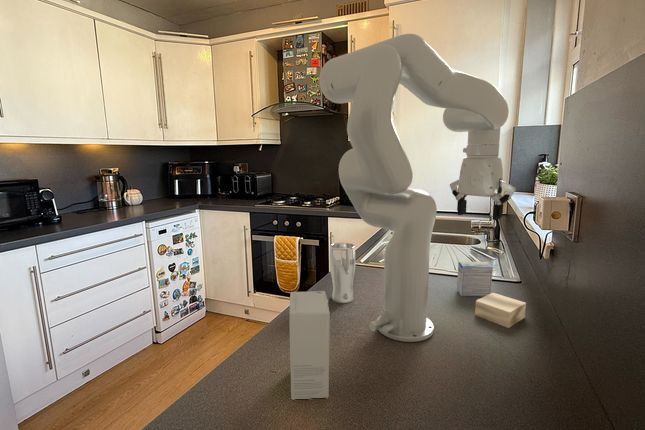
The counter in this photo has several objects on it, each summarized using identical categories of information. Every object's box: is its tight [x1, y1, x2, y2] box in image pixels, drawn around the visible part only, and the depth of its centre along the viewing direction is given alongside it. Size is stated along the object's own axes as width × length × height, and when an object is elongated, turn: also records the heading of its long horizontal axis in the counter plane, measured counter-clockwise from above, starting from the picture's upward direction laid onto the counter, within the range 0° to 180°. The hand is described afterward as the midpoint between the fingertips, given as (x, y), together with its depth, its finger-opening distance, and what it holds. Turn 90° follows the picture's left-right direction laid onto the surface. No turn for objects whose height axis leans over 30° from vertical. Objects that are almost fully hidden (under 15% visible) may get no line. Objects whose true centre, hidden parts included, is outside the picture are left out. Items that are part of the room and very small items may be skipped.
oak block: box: [474, 292, 527, 329], centre depth 84 cm, size 8×8×4 cm
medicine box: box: [456, 261, 494, 297], centre depth 97 cm, size 8×4×9 cm, turn 84°
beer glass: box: [329, 241, 356, 304], centre depth 94 cm, size 7×7×15 cm
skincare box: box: [289, 290, 331, 400], centre depth 59 cm, size 8×7×16 cm
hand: (478, 216), depth 94 cm, fingers open, 9 cm apart
